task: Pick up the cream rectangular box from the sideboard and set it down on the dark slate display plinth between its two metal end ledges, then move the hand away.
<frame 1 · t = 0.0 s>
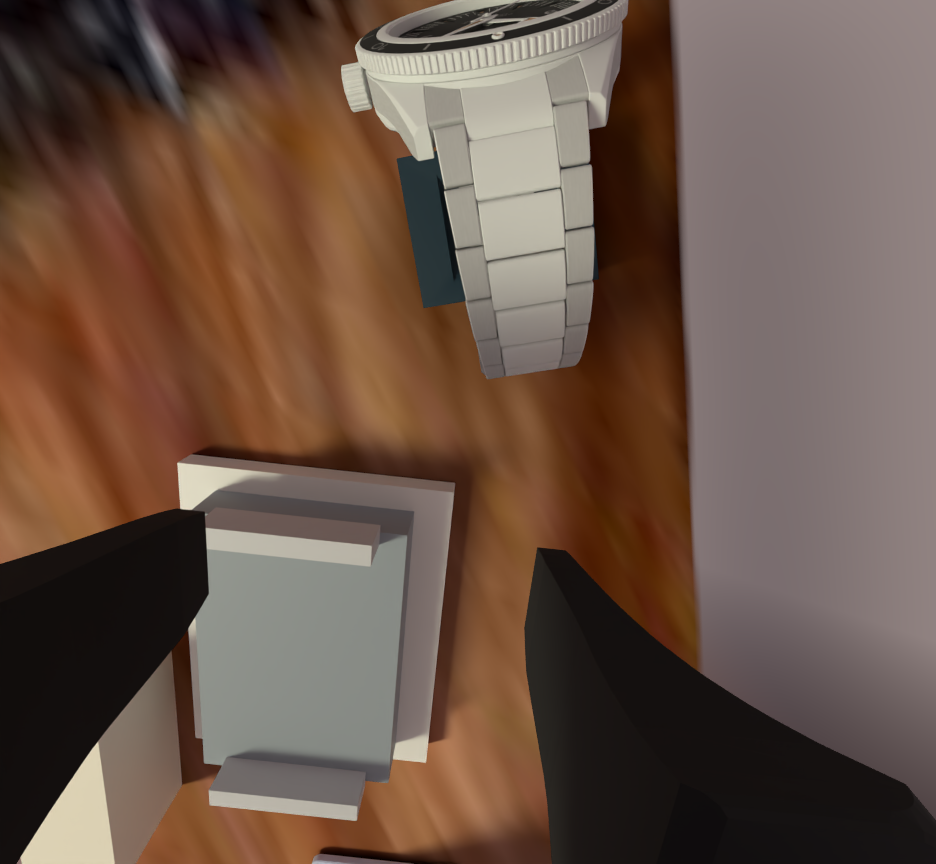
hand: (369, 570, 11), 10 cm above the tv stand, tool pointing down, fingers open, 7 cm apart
watch: (495, 227, 19), on the tv stand
display stand: (320, 612, 23), on the tv stand
cream rectangular box: (138, 709, 26), on the tv stand
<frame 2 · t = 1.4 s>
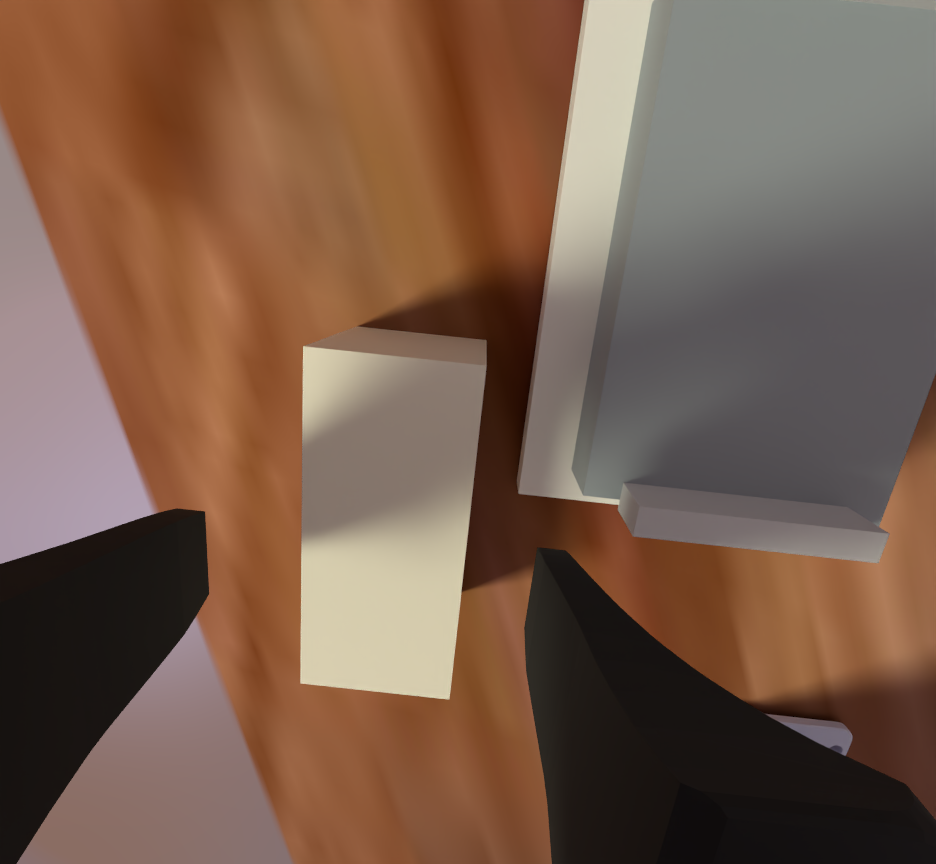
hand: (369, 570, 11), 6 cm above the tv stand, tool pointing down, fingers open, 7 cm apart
display stand: (735, 280, 15), on the tv stand
cream rectangular box: (412, 468, 17), on the tv stand
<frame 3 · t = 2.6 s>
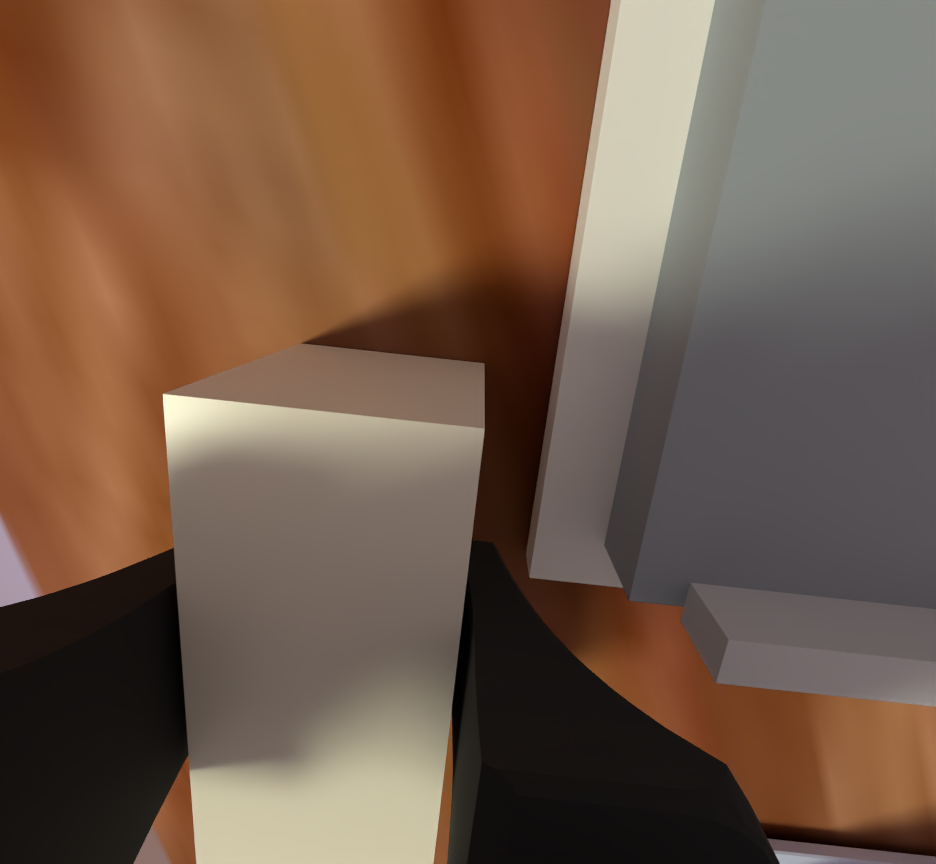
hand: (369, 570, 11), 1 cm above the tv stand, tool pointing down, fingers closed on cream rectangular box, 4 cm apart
display stand: (843, 278, 10), on the tv stand
cream rectangular box: (381, 538, 12), on the tv stand, touching gripper
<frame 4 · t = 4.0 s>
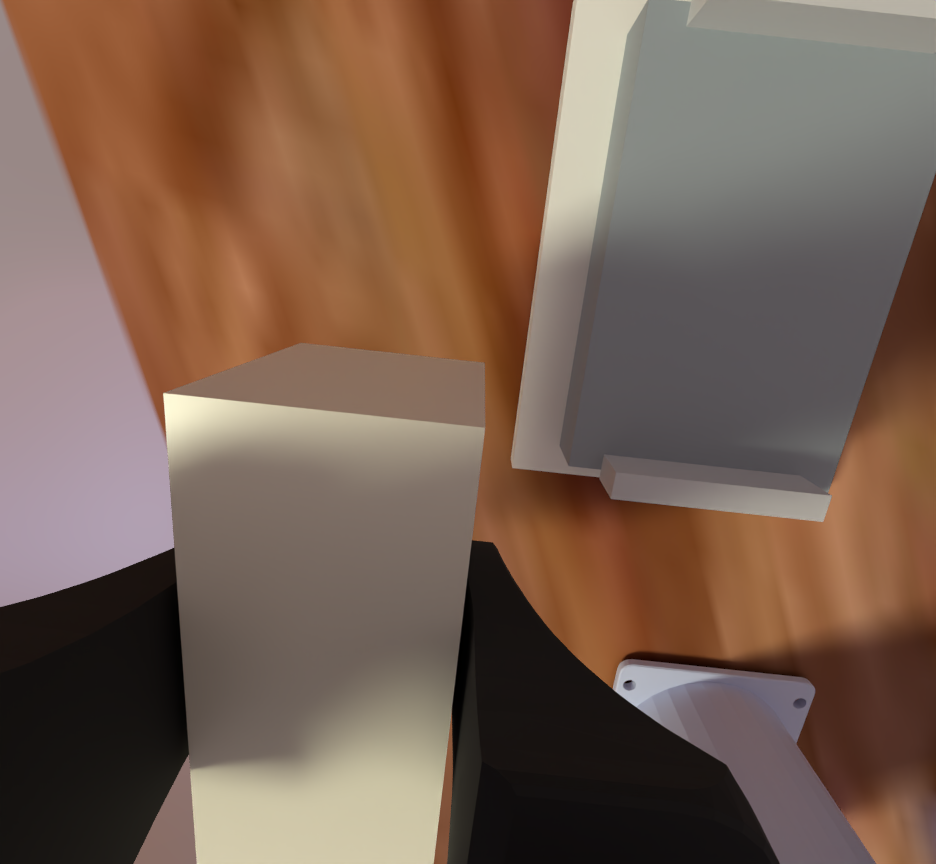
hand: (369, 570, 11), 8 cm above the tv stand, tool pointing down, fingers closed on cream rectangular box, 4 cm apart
display stand: (704, 276, 17), on the tv stand
cream rectangular box: (381, 537, 12), point 7 cm above the tv stand, touching gripper
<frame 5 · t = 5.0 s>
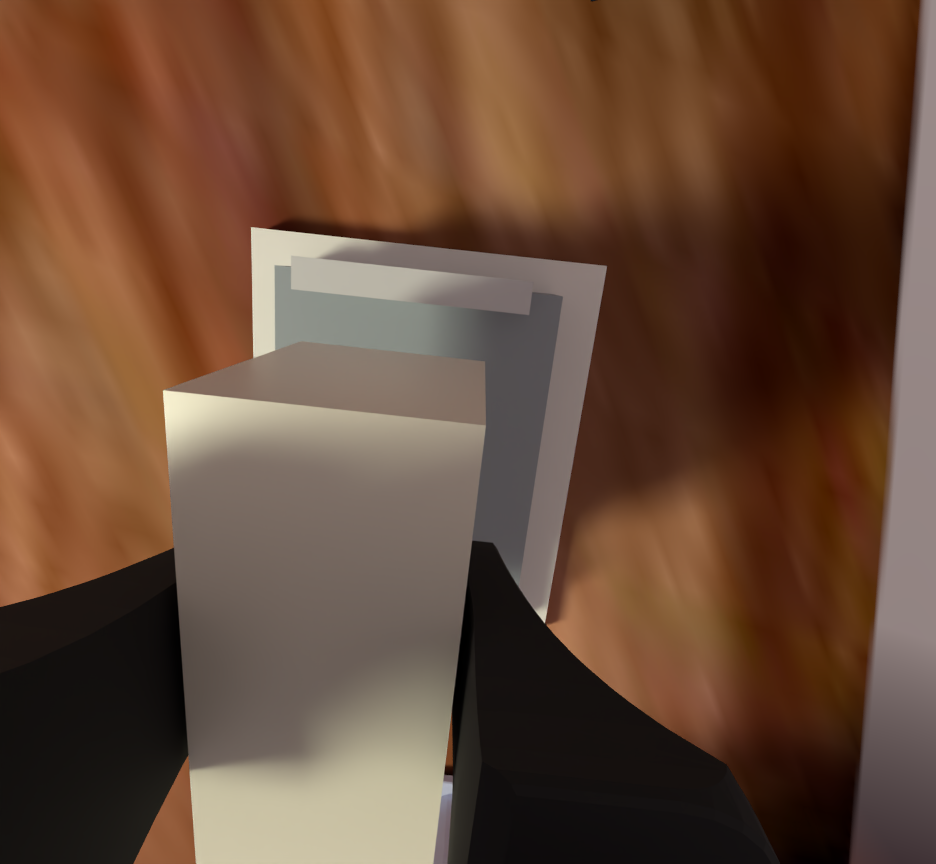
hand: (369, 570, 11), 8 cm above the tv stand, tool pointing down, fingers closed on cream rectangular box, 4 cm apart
display stand: (416, 450, 19), on the tv stand
cream rectangular box: (381, 536, 12), point 7 cm above the tv stand, touching gripper
when the fingers open (5 cm above the tv stand, at t = 5.8 s): cream rectangular box stays where it is, resting on display stand.
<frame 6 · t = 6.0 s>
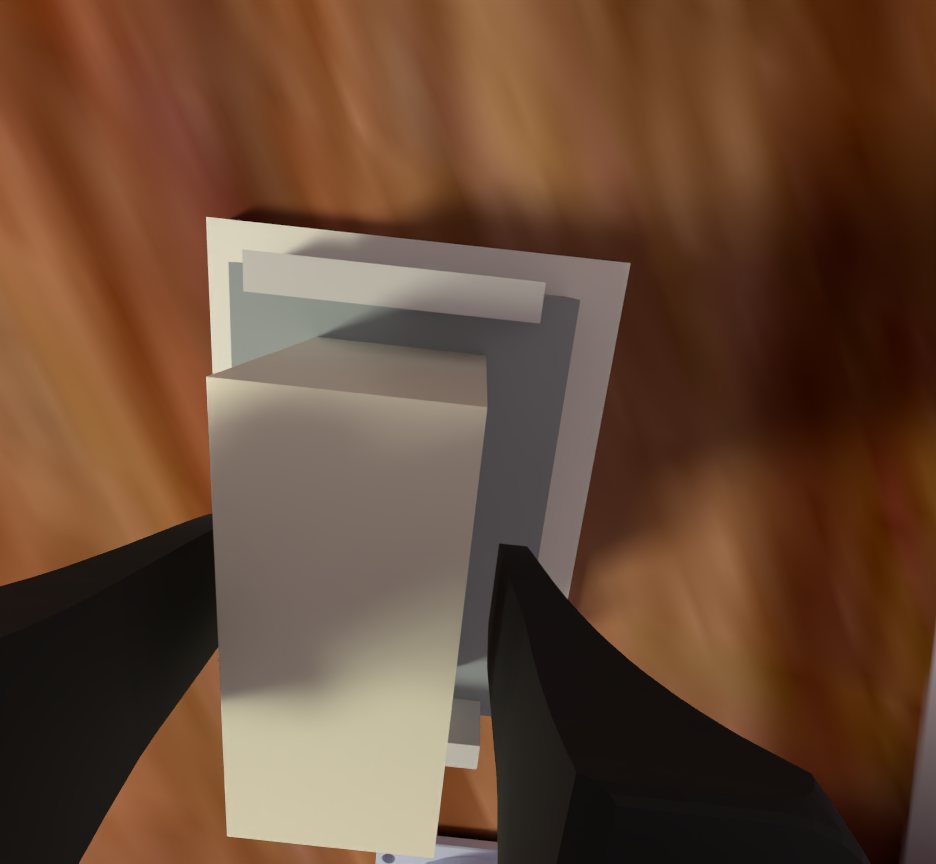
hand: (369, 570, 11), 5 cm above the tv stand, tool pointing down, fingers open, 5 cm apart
display stand: (405, 477, 16), on the tv stand
cream rectangular box: (389, 519, 13), point 3 cm above the tv stand, touching display stand
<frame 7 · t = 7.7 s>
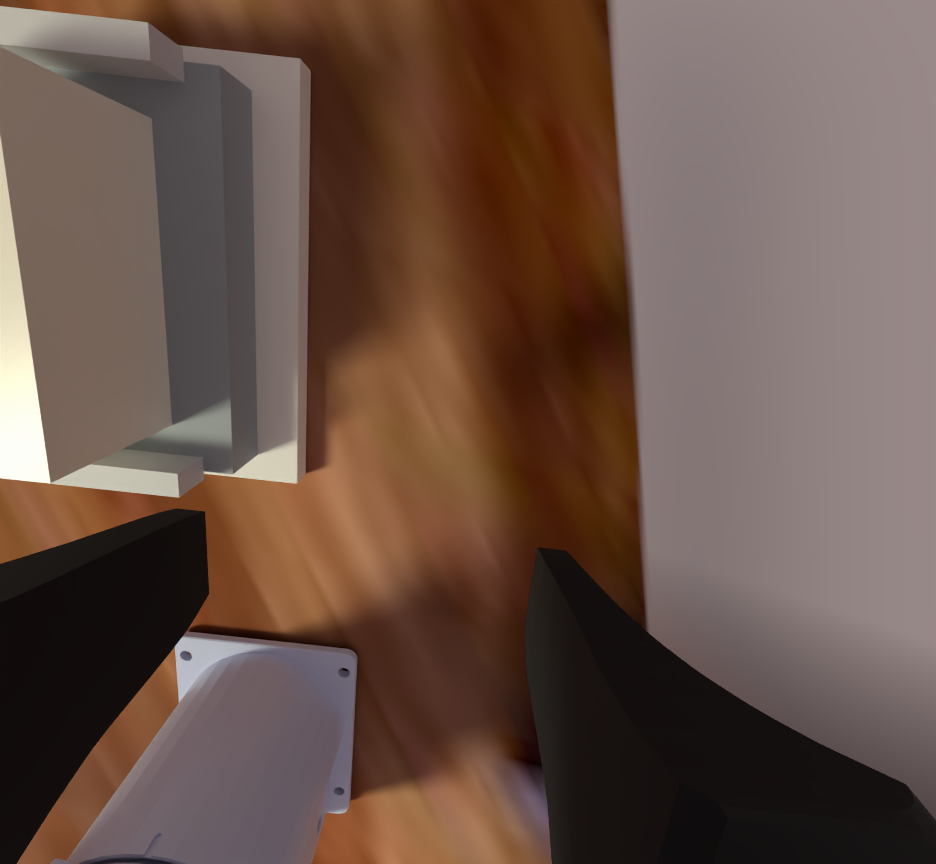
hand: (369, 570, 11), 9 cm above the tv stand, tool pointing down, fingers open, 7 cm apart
display stand: (156, 278, 19), on the tv stand
cream rectangular box: (97, 277, 16), point 3 cm above the tv stand, touching display stand
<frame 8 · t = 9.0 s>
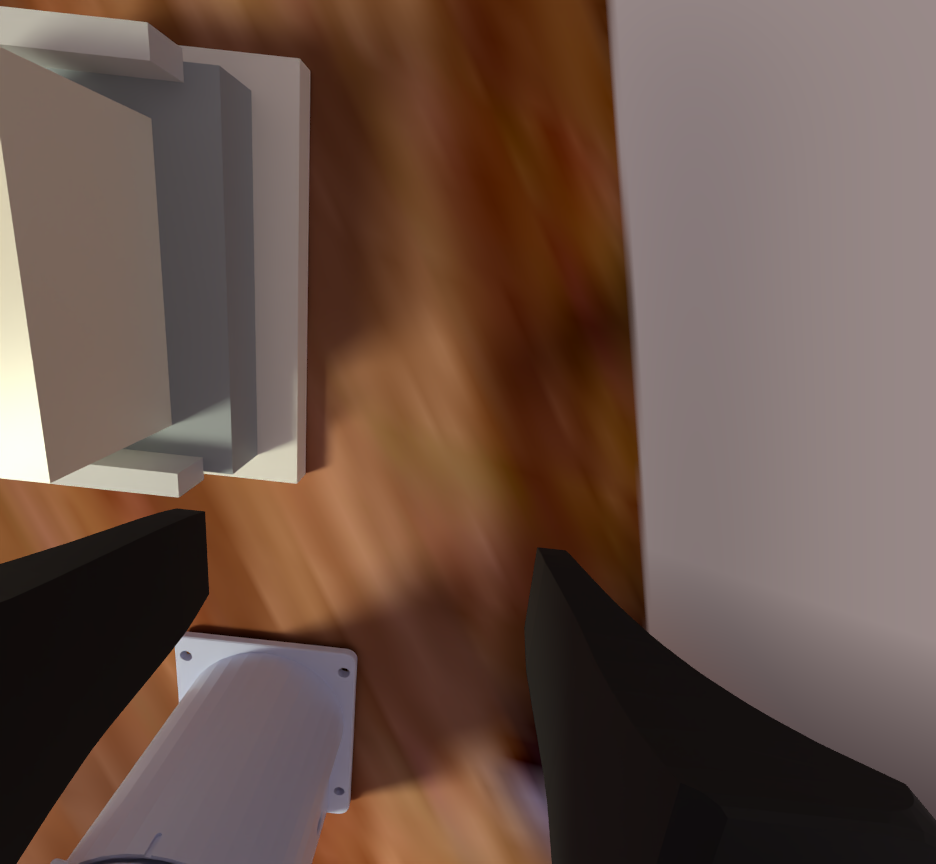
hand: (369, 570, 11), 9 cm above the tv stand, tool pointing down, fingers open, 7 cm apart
display stand: (156, 278, 19), on the tv stand
cream rectangular box: (97, 277, 16), point 3 cm above the tv stand, touching display stand
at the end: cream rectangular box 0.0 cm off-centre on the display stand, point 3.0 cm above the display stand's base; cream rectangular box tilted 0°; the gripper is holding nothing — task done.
